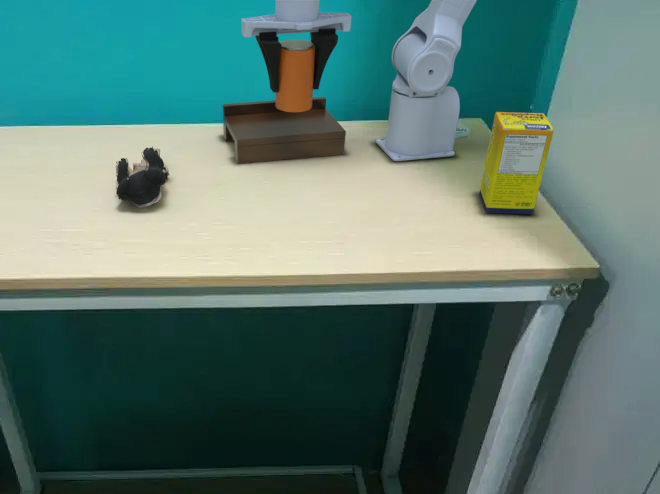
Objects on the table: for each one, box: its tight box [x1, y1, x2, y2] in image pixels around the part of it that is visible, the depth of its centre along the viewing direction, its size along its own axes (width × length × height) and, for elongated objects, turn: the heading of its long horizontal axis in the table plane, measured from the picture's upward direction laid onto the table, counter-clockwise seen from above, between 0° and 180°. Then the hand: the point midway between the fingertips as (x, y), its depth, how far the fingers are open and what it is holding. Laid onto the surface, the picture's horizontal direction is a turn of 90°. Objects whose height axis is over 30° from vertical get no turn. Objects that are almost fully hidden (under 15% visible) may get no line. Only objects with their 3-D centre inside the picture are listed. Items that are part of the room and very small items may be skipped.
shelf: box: [222, 96, 347, 164], centre depth 109 cm, size 16×11×5 cm
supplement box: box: [478, 111, 555, 215], centre depth 91 cm, size 6×6×11 cm
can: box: [274, 38, 315, 112], centre depth 101 cm, size 5×5×8 cm
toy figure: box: [115, 146, 170, 209], centre depth 97 cm, size 7×6×15 cm
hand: (294, 88), depth 102 cm, fingers closed on can, 5 cm apart
